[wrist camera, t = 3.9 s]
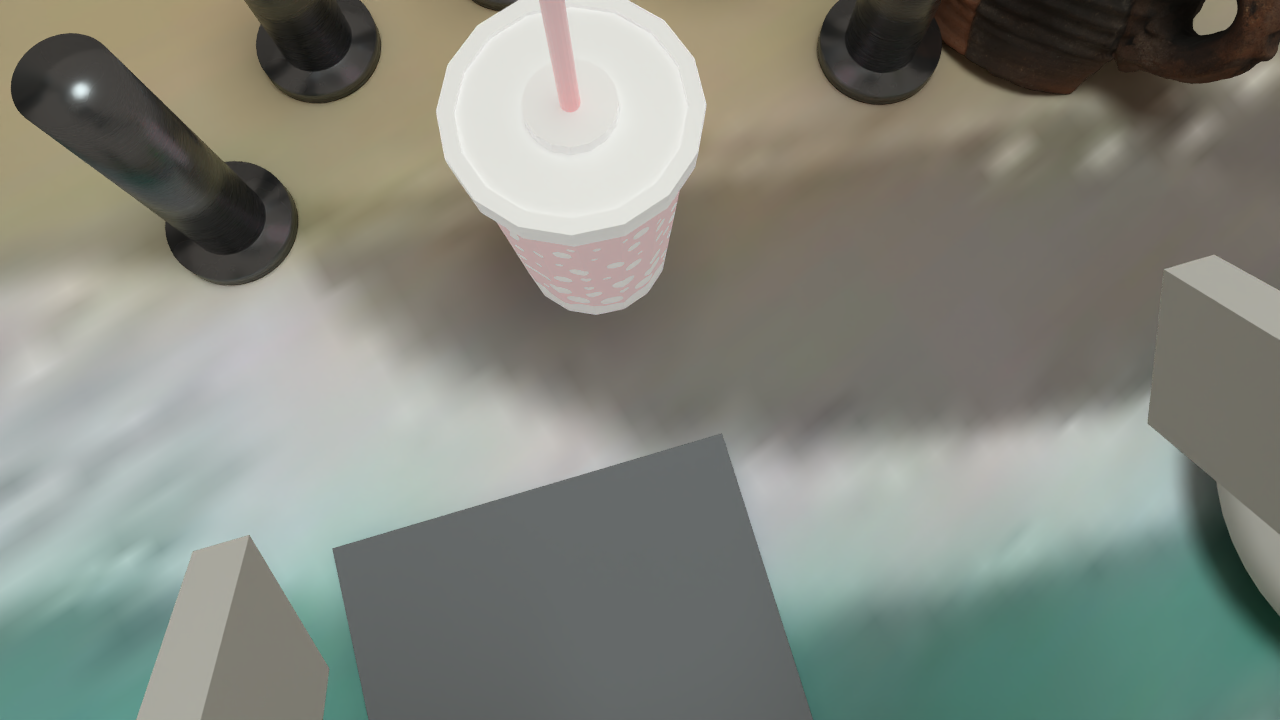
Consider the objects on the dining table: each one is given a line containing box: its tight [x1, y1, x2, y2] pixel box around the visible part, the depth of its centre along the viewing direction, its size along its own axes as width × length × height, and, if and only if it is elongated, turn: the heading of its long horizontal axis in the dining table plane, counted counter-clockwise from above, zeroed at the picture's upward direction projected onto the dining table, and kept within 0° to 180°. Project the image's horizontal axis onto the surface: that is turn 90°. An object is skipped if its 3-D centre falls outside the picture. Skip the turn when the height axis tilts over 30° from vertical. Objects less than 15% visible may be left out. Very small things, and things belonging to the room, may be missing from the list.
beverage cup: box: [436, 0, 706, 315], centre depth 23 cm, size 6×6×14 cm
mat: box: [333, 434, 813, 720], centre depth 26 cm, size 12×12×1 cm
